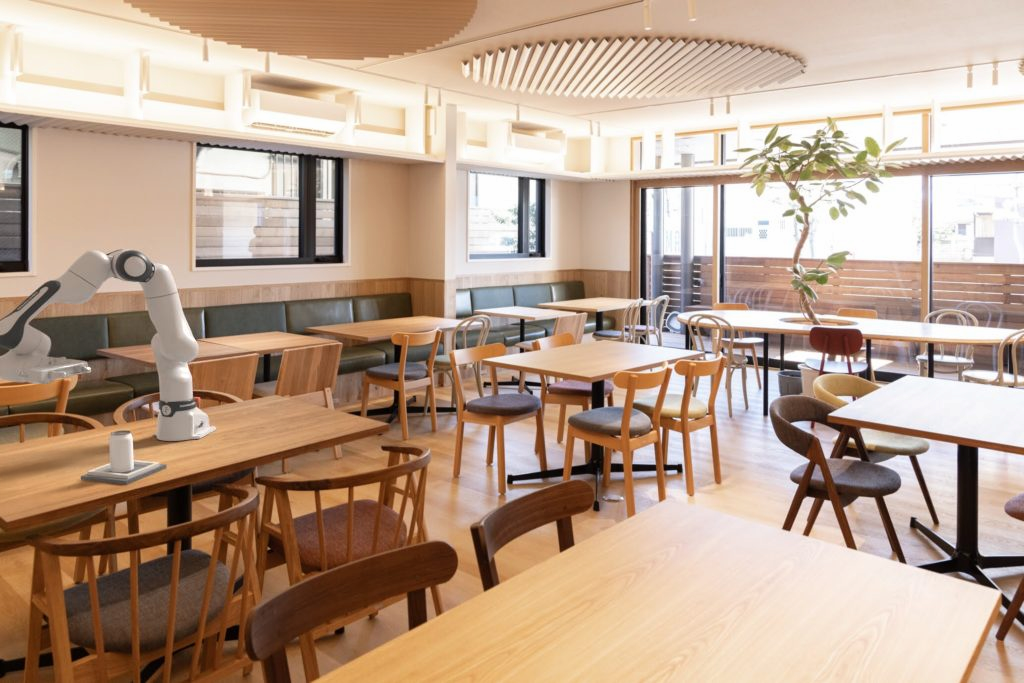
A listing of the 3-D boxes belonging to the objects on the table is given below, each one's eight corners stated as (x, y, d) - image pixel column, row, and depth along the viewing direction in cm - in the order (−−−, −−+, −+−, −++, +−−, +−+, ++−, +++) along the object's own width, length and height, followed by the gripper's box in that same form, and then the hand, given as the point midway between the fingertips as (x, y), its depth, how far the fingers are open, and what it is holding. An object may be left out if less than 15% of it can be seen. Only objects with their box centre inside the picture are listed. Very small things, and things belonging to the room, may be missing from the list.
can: (126, 474, 242) (124, 435, 240) (106, 473, 242) (104, 434, 241) (138, 468, 248) (136, 430, 246) (118, 467, 249) (117, 429, 247)
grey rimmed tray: (123, 463, 257) (123, 457, 256) (166, 468, 253) (166, 461, 252) (80, 479, 239) (80, 472, 239) (126, 484, 235) (125, 477, 235)
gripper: (13, 365, 243) (50, 367, 240) (66, 356, 263) (101, 358, 260) (14, 385, 244) (52, 388, 241) (67, 374, 264) (102, 377, 261)
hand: (78, 372), depth 250 cm, fingers open, 8 cm apart
